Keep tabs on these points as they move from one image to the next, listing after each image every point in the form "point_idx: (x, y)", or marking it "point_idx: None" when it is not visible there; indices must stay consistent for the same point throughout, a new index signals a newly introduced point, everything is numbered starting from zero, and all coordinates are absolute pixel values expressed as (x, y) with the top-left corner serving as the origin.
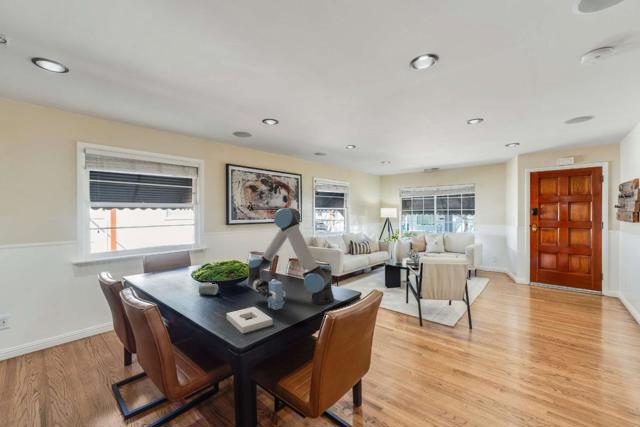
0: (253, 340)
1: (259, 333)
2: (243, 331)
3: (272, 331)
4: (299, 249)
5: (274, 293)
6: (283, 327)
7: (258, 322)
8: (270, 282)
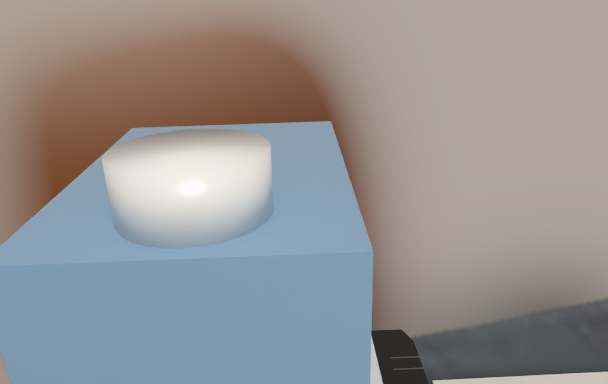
0: (604, 310)
1: (564, 358)
2: None
3: (458, 343)
4: None
5: None
6: None
7: (587, 378)
8: (343, 194)
